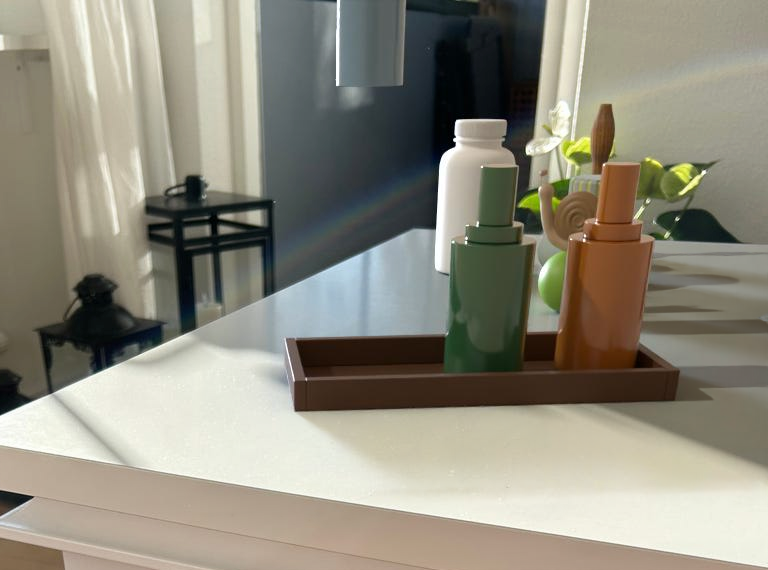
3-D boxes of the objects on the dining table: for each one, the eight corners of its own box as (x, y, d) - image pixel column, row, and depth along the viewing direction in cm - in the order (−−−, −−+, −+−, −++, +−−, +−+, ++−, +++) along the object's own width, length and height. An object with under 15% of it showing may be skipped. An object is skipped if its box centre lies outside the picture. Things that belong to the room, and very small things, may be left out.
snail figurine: (535, 302, 99) (550, 166, 93) (601, 309, 96) (621, 169, 90) (516, 313, 95) (530, 172, 89) (585, 320, 92) (604, 175, 86)
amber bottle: (617, 366, 76) (648, 158, 69) (644, 387, 71) (681, 166, 64) (543, 368, 76) (566, 160, 69) (565, 390, 71) (593, 168, 64)
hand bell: (583, 264, 116) (602, 106, 108) (539, 253, 123) (554, 103, 115) (640, 258, 119) (664, 103, 111) (594, 247, 126) (613, 101, 118)
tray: (615, 366, 79) (621, 329, 77) (673, 411, 69) (680, 370, 67) (284, 375, 78) (284, 337, 76) (294, 422, 68) (294, 380, 66)
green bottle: (510, 369, 75) (531, 161, 68) (530, 390, 71) (555, 169, 64) (435, 371, 75) (448, 162, 68) (450, 393, 70) (466, 170, 63)
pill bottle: (491, 263, 117) (503, 116, 110) (517, 275, 111) (531, 120, 103) (425, 266, 116) (432, 118, 109) (446, 279, 109) (456, 122, 102)
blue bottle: (398, 84, 79) (404, -88, 74) (407, 86, 75) (414, -97, 69) (333, 85, 79) (334, -87, 74) (339, 87, 75) (340, -96, 69)
